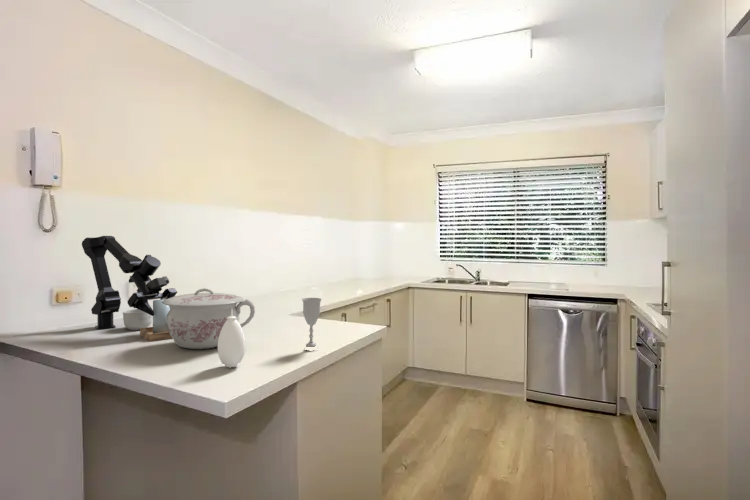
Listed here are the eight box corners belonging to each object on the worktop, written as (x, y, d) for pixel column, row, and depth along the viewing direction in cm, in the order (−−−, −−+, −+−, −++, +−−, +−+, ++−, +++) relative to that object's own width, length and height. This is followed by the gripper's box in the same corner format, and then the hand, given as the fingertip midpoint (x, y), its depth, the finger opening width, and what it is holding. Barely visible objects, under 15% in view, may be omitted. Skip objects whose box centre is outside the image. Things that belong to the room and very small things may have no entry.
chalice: (325, 349, 148) (325, 299, 148) (309, 353, 143) (310, 301, 143) (312, 345, 153) (312, 297, 153) (297, 349, 148) (297, 298, 148)
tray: (140, 334, 166) (140, 328, 165) (172, 330, 174) (172, 324, 174) (149, 341, 155) (149, 334, 155) (183, 337, 163) (183, 330, 163)
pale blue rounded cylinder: (149, 335, 161) (149, 301, 161) (157, 331, 167) (157, 299, 167) (165, 335, 161) (165, 301, 161) (172, 331, 167) (172, 299, 167)
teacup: (142, 331, 171) (142, 312, 171) (116, 331, 171) (116, 311, 171) (161, 324, 185) (161, 306, 185) (136, 324, 185) (136, 306, 185)
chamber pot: (144, 348, 146) (144, 289, 146) (208, 333, 171) (208, 282, 170) (199, 360, 133) (199, 295, 133) (260, 342, 158) (260, 287, 157)
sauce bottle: (237, 361, 132) (237, 305, 132) (249, 367, 127) (250, 308, 126) (213, 366, 127) (213, 307, 126) (225, 372, 121) (225, 311, 121)
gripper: (132, 271, 157) (153, 303, 153) (174, 268, 174) (193, 297, 170) (118, 291, 160) (138, 322, 156) (160, 286, 177) (179, 314, 173)
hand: (164, 313), depth 164 cm, fingers open, 9 cm apart
